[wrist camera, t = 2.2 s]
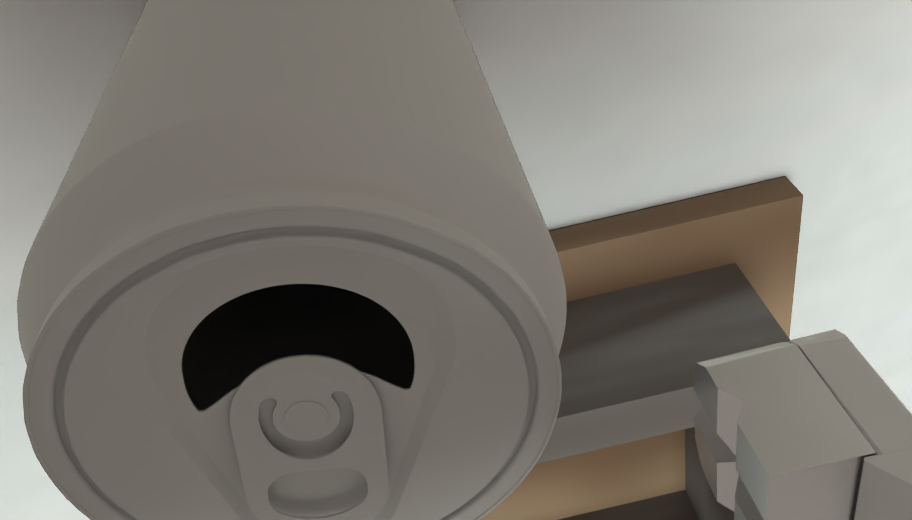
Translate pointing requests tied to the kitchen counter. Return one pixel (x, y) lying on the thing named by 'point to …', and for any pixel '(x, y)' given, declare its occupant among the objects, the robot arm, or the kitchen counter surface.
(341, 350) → the beverage can
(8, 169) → the kitchen counter surface
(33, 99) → the kitchen counter surface
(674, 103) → the kitchen counter surface
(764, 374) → the robot arm
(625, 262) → the collar plate
